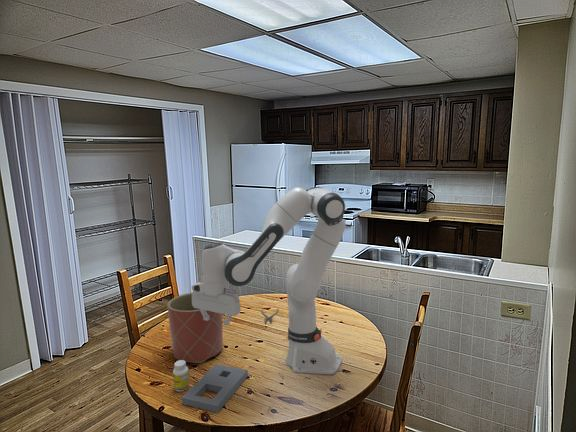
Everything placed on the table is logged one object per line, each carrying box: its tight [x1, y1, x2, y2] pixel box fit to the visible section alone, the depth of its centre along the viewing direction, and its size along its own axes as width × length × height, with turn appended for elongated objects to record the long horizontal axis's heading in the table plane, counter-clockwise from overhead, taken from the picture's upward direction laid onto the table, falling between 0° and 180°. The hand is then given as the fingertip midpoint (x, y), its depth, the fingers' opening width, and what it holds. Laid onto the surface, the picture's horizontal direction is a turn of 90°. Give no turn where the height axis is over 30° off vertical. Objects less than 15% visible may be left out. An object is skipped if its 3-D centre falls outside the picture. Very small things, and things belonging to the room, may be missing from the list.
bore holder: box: [181, 363, 249, 414], centre depth 132 cm, size 14×22×2 cm, turn 160°
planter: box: [166, 292, 224, 364], centre depth 158 cm, size 23×23×24 cm
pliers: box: [260, 308, 279, 325], centre depth 195 cm, size 10×1×20 cm
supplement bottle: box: [172, 360, 190, 392], centre depth 134 cm, size 5×5×10 cm
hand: (216, 322), depth 136 cm, fingers open, 8 cm apart
